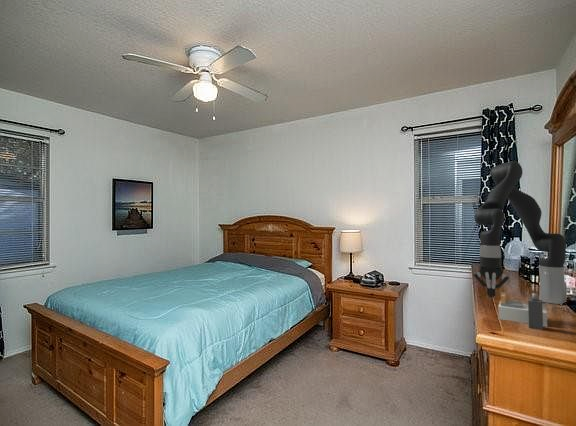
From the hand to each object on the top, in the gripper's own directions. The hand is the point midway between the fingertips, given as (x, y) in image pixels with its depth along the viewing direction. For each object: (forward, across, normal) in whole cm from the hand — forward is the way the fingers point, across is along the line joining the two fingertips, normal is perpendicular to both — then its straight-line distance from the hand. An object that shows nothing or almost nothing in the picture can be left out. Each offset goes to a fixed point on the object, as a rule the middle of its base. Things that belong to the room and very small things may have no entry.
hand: (491, 297), depth 130 cm
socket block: (+7, +10, 0) cm, 12 cm away
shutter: (+2, +7, 0) cm, 7 cm away
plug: (+7, +14, -9) cm, 18 cm away
